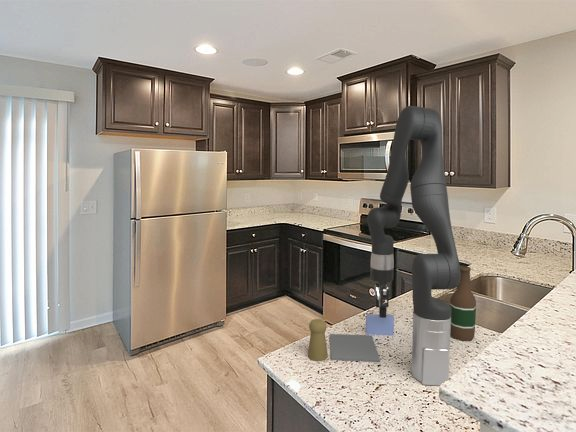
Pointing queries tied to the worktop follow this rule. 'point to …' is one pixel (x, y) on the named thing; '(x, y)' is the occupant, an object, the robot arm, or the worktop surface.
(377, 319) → the card deck
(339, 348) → the mat
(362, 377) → the worktop surface
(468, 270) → the beer bottle
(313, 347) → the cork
